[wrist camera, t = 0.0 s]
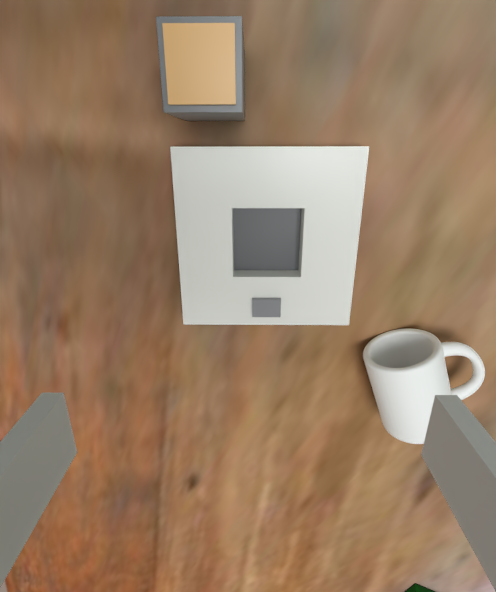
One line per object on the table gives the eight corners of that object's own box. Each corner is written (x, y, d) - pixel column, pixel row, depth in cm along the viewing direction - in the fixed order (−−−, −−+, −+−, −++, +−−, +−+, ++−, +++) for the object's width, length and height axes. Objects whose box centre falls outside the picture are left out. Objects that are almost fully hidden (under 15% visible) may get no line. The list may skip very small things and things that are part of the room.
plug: (183, 52, 33) (154, 14, 23) (244, 52, 33) (241, 14, 23) (187, 120, 35) (162, 111, 25) (245, 120, 35) (242, 111, 25)
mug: (373, 405, 47) (396, 453, 40) (354, 341, 44) (374, 380, 36) (469, 378, 46) (511, 423, 38) (457, 309, 42) (500, 343, 35)
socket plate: (175, 146, 36) (168, 146, 33) (361, 146, 36) (371, 146, 33) (187, 314, 43) (182, 327, 40) (343, 315, 42) (350, 327, 40)
